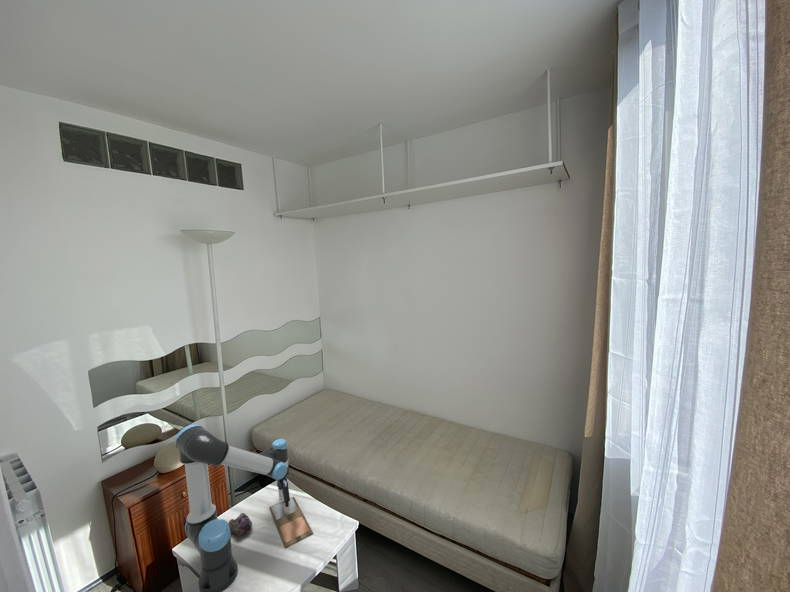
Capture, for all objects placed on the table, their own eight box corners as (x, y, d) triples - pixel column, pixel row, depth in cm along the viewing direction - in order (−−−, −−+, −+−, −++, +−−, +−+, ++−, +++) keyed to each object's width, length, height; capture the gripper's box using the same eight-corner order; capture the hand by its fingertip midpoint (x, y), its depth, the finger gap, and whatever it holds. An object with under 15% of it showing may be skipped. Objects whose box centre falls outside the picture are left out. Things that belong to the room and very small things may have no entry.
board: (285, 548, 154) (285, 547, 154) (269, 508, 182) (268, 507, 182) (313, 533, 162) (313, 532, 162) (293, 497, 189) (293, 496, 189)
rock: (230, 535, 156) (246, 543, 160) (243, 516, 161) (258, 524, 165) (223, 525, 165) (238, 533, 169) (236, 507, 169) (250, 515, 174)
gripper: (294, 475, 171) (297, 514, 173) (282, 456, 190) (285, 492, 191) (279, 480, 167) (283, 521, 169) (269, 461, 185) (272, 497, 187)
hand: (284, 505), depth 180 cm, fingers open, 10 cm apart
